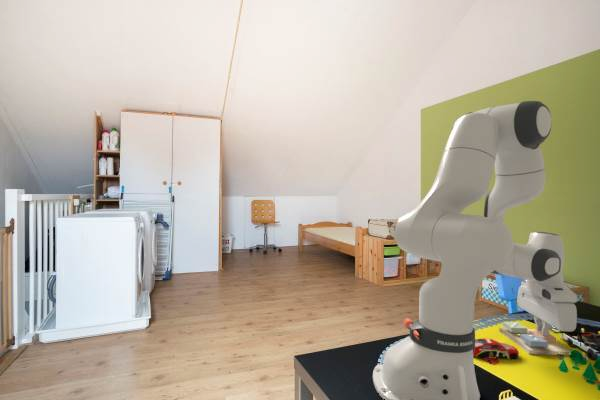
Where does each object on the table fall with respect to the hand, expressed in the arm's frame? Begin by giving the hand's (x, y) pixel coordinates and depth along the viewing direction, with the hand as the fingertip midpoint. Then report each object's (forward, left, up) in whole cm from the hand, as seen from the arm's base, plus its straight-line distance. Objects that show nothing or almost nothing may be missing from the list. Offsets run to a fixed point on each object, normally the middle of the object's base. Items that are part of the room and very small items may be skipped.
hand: (542, 333), depth 97 cm
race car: (-19, -9, -3) cm, 21 cm away
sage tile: (-5, +4, -1) cm, 7 cm away
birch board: (-3, 0, -3) cm, 4 cm away
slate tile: (-5, -5, -1) cm, 7 cm away
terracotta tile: (0, 0, -1) cm, 2 cm away
